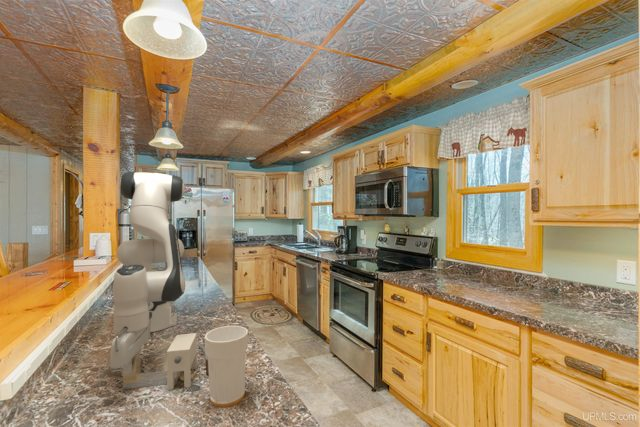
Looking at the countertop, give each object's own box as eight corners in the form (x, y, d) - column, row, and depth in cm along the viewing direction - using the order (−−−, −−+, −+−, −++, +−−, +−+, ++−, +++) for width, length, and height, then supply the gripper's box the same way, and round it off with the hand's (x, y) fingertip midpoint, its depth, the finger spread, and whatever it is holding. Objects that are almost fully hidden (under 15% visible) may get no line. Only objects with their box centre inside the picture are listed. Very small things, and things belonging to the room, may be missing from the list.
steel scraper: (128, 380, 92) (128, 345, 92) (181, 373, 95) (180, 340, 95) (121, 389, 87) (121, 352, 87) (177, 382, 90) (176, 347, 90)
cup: (253, 384, 89) (252, 325, 88) (242, 410, 77) (241, 342, 77) (215, 384, 89) (214, 325, 89) (198, 409, 78) (197, 342, 77)
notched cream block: (177, 368, 98) (176, 334, 98) (197, 366, 99) (196, 333, 99) (166, 392, 85) (165, 353, 85) (189, 389, 87) (188, 350, 87)
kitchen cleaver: (233, 369, 96) (199, 374, 93) (233, 372, 96) (199, 377, 93) (226, 340, 119) (198, 343, 115) (225, 342, 119) (198, 346, 115)
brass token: (181, 374, 95) (181, 372, 95) (196, 373, 96) (196, 370, 96) (177, 382, 90) (177, 380, 90) (193, 380, 91) (193, 378, 91)
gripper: (129, 334, 80) (130, 386, 80) (154, 309, 100) (154, 351, 100) (102, 336, 79) (103, 389, 79) (133, 311, 99) (133, 353, 99)
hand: (132, 368), depth 90 cm, fingers closed on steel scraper, 3 cm apart
